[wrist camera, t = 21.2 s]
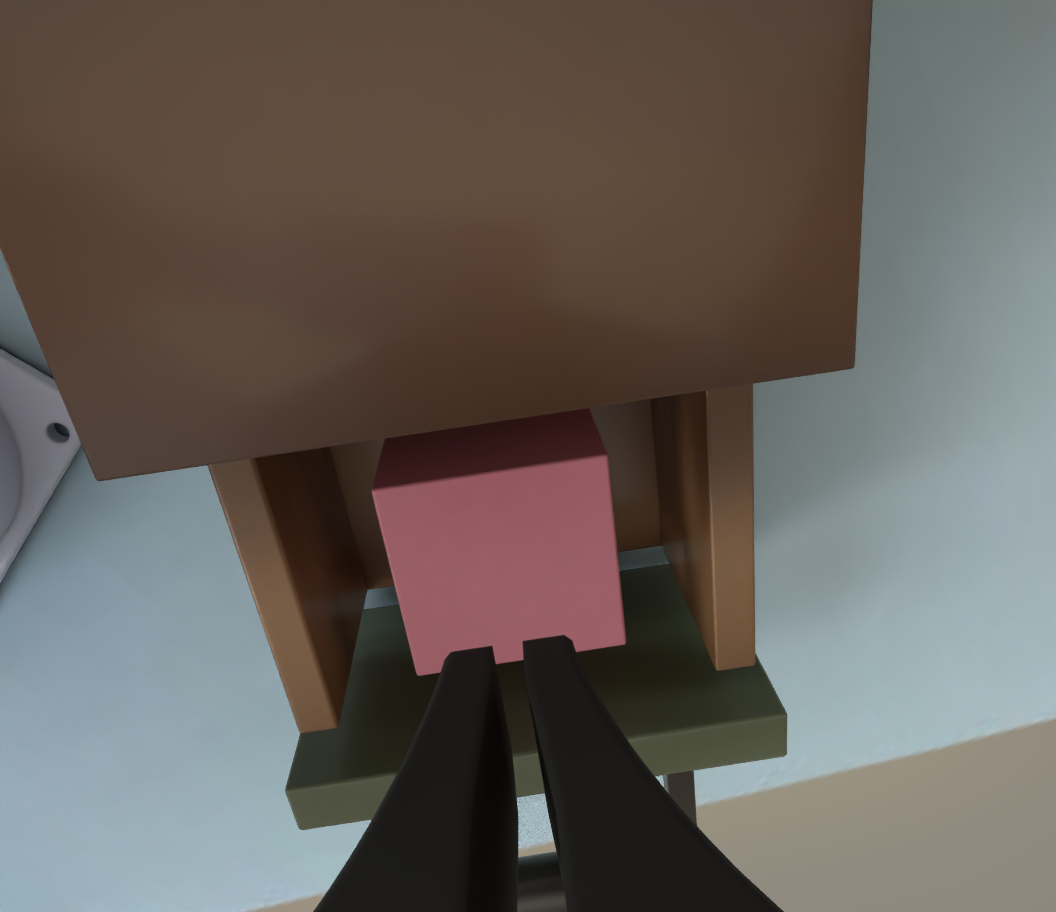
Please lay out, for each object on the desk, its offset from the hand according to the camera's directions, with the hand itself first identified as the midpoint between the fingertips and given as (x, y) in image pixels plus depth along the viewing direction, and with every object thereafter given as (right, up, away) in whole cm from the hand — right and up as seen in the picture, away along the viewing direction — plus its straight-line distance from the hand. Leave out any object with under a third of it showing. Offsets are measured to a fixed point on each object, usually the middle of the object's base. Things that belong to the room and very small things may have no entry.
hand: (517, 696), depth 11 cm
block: (0, +3, +7) cm, 8 cm away
